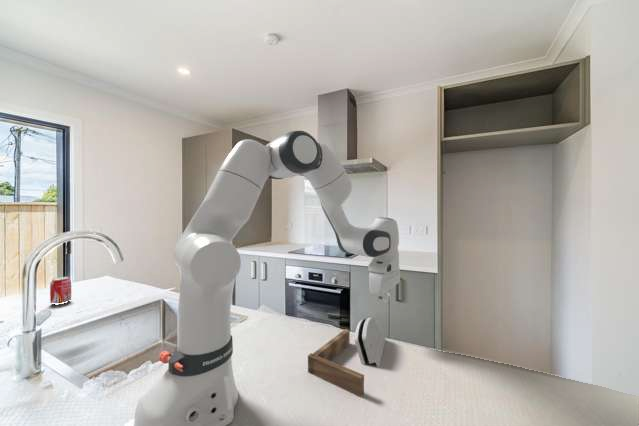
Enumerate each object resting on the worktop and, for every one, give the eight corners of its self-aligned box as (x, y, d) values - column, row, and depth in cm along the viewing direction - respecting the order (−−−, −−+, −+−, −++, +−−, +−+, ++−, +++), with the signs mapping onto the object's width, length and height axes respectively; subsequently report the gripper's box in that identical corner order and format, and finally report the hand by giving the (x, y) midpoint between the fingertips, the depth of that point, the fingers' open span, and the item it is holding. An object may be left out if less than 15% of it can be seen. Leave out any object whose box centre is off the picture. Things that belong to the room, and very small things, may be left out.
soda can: (50, 303, 121) (50, 278, 121) (71, 299, 126) (71, 275, 126) (49, 307, 116) (49, 281, 116) (71, 303, 121) (70, 278, 120)
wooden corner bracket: (361, 397, 60) (361, 378, 60) (307, 372, 69) (307, 355, 69) (390, 358, 76) (390, 343, 76) (344, 341, 85) (344, 328, 85)
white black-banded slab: (378, 368, 71) (366, 332, 72) (362, 370, 73) (351, 335, 74) (385, 339, 87) (375, 310, 88) (372, 341, 88) (362, 313, 89)
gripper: (388, 257, 101) (388, 291, 102) (365, 267, 85) (366, 308, 85) (404, 258, 98) (404, 294, 98) (383, 269, 81) (384, 312, 81)
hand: (386, 301), depth 91 cm, fingers closed
